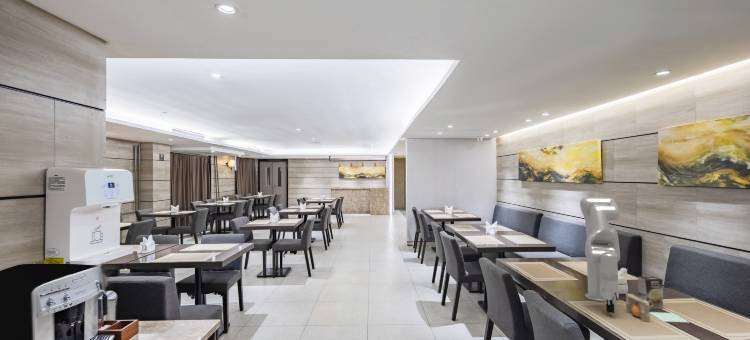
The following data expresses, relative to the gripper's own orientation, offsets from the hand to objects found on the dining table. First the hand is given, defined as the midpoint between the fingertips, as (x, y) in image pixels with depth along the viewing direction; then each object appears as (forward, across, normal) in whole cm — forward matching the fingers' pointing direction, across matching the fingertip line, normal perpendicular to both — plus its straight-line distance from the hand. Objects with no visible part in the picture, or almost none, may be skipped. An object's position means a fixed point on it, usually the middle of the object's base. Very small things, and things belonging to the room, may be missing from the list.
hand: (610, 312), depth 182 cm
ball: (-1, +1, +13) cm, 13 cm away
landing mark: (+2, 0, +27) cm, 27 cm away
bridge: (+2, 0, +13) cm, 13 cm away
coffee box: (+2, -15, +28) cm, 32 cm away
